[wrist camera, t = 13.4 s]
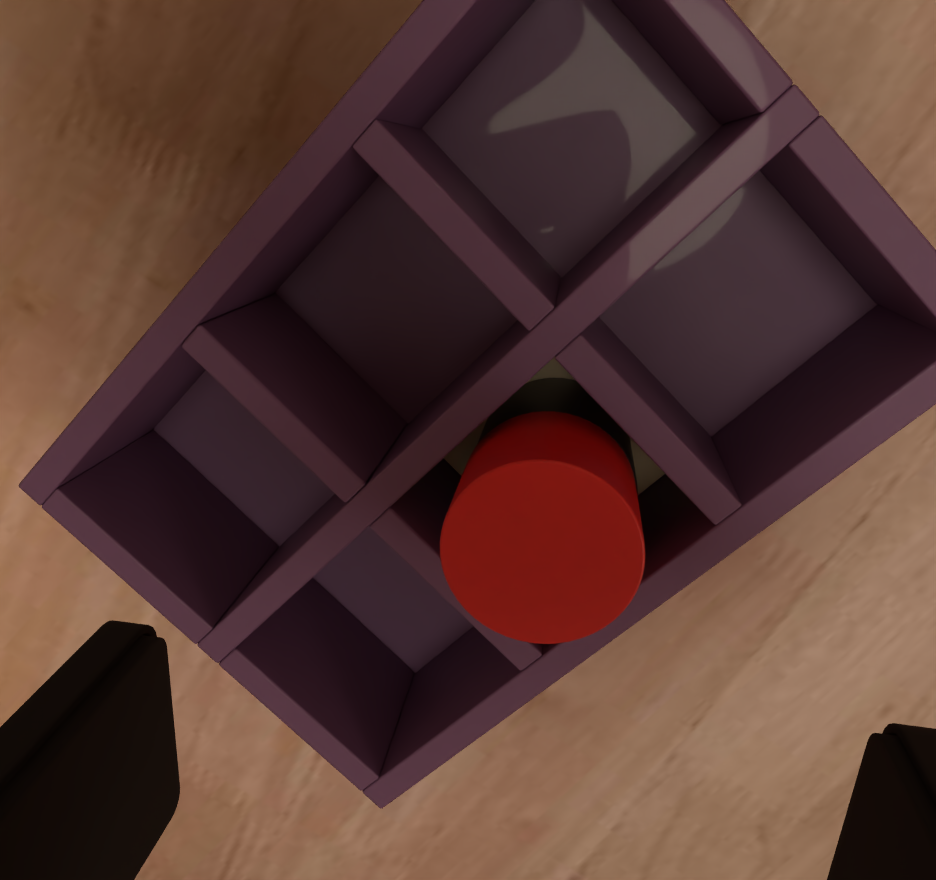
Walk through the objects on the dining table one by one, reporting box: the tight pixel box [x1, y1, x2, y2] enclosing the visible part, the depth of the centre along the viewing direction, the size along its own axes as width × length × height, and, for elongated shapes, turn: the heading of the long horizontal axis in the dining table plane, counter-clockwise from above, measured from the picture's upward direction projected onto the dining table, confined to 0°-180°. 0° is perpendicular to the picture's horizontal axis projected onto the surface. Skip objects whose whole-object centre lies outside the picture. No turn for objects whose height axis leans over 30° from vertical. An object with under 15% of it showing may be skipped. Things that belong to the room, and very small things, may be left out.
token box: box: [19, 0, 936, 808], centre depth 21 cm, size 13×20×6 cm
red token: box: [440, 411, 646, 644], centre depth 19 cm, size 4×4×4 cm
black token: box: [477, 378, 638, 496], centre depth 22 cm, size 4×4×4 cm
